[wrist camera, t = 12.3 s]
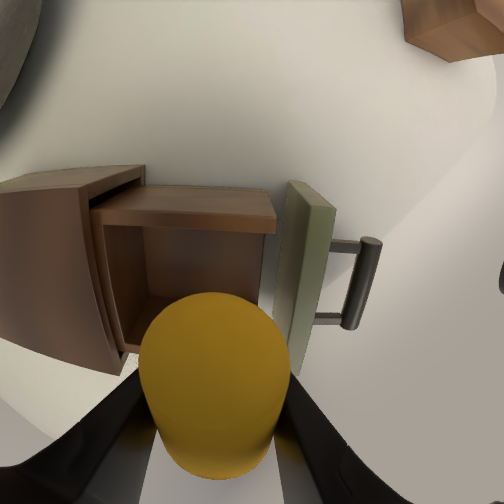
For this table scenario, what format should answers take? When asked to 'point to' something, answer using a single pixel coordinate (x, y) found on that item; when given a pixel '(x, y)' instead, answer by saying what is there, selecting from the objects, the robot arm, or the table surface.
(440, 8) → the stand
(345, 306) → the drawer
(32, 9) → the bowl
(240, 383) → the yellow capsule toy
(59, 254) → the cabinet
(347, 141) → the table surface
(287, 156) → the table surface
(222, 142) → the table surface
